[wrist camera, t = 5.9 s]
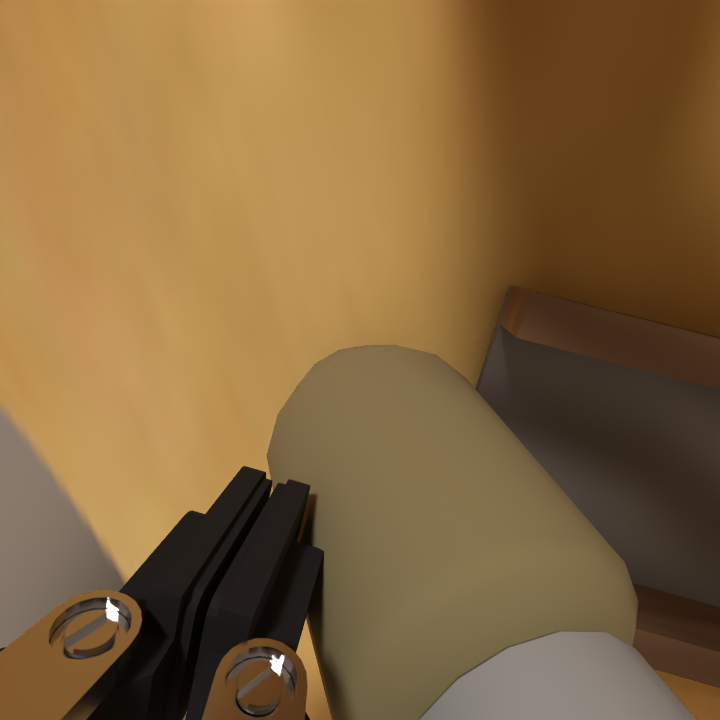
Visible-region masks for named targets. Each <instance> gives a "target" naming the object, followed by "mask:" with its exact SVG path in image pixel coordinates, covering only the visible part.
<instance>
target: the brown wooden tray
mask: <svg viewBox="0 0 720 720" xmlns="http://www.w3.org/2000/svg"><path fill="white" fill-rule="evenodd" d="M476 390H477V392H478V393H479V394H480V395H481V396H482V397H483V399H484V400H485V401H486V402H487V403H488V404H489V406H490V407H491V408H492V409H493V410H494V411H495V412H496V414H497V415H498V416H499V417H500V418H501V419H502V421H503V422H504V423H505V424H506V425H507V426H508V428H509V429H510V430H511V431H512V432H513V433H514V435H515V436H516V437H517V438H518V439H519V440H520V441H521V443H522V444H523V445H524V446H525V447H526V448H527V450H528V451H529V452H530V453H531V454H532V455H533V457H534V458H535V459H536V460H537V461H538V462H539V464H540V465H541V466H542V467H543V468H544V469H545V470H546V472H547V473H548V474H549V475H550V476H551V477H552V479H553V480H554V481H555V482H556V483H557V484H558V486H559V487H560V488H561V489H562V490H563V491H564V493H565V494H566V495H567V496H568V497H569V498H570V499H571V501H572V502H573V503H574V504H575V505H576V506H577V508H578V509H579V510H580V511H581V512H582V513H583V515H584V516H585V517H586V518H587V519H588V520H589V522H590V523H591V524H592V525H593V526H594V527H595V528H596V530H597V531H598V532H599V533H600V534H601V535H602V537H603V538H604V539H605V540H606V541H607V542H608V544H609V545H610V546H611V547H612V548H613V549H614V551H615V552H616V553H617V554H618V555H619V556H620V557H621V559H622V560H623V561H624V562H625V564H626V567H627V570H628V573H629V576H630V578H631V581H632V584H633V587H634V590H635V593H636V596H637V599H638V609H637V618H636V628H635V635H634V640H633V645H632V647H633V648H635V649H636V650H637V651H638V652H639V653H640V654H641V656H642V657H643V658H644V659H645V660H646V661H647V663H648V664H649V665H650V666H651V667H652V668H653V669H656V670H660V671H663V672H667V673H670V674H674V675H677V676H681V677H684V678H688V679H691V680H694V681H698V682H701V683H705V684H708V685H712V686H715V687H719V688H720V338H718V337H714V336H710V335H706V334H702V333H698V332H694V331H690V330H686V329H682V328H678V327H674V326H670V325H666V324H662V323H658V322H654V321H650V320H646V319H642V318H638V317H634V316H630V315H626V314H622V313H618V312H615V311H611V310H607V309H603V308H599V307H595V306H591V305H587V304H583V303H579V302H575V301H571V300H567V299H563V298H559V297H555V296H551V295H547V294H543V293H539V292H535V291H531V290H527V289H523V288H519V287H515V286H511V285H510V286H509V289H508V292H507V295H506V298H505V301H504V304H503V307H502V310H501V313H500V316H499V319H498V323H497V326H496V329H495V332H494V335H493V338H492V341H491V344H490V347H489V350H488V353H487V356H486V359H485V362H484V365H483V368H482V371H481V374H480V378H479V381H478V384H477V387H476Z"/></svg>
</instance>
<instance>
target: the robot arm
mask: <svg viewBox="0 0 720 720" xmlns="http://www.w3.org/2000/svg"><path fill="white" fill-rule="evenodd" d="M271 487H272V480H269V479H266V472H264V471H260V470H257V469H253V468H250V467H246V466H243V467H242V468H241V469H240V471H239V472H238V473H237V474H236V476H235V477H234V478H233V480H232V481H231V482H230V483H229V485H228V486H227V487H226V488H225V490H224V491H223V492H222V494H221V495H220V496H219V497H218V499H217V500H216V501H215V503H214V504H213V505H212V506H211V508H210V509H209V510H208V511H207V513H206V514H202V513H199V512H195V511H189V512H188V513H187V514H186V515H184V517H183V518H182V519H181V520H180V521H179V522H178V524H177V525H176V526H175V527H174V528H173V529H172V531H171V532H170V533H169V534H168V535H167V536H166V538H165V539H164V540H163V541H162V542H161V543H160V545H159V546H158V547H157V548H156V549H155V550H154V551H153V553H152V554H151V555H150V556H149V557H148V558H147V560H146V561H145V562H144V563H143V564H142V565H141V567H140V568H139V569H138V570H137V571H136V572H135V574H134V575H133V576H132V577H131V578H130V579H129V581H128V582H127V583H126V584H125V585H124V586H123V588H122V589H121V590H120V591H119V592H116V591H106V590H98V591H93V592H87V593H83V594H81V595H78V596H76V597H73V598H71V599H69V600H67V601H65V602H64V603H62V604H61V605H59V606H58V607H56V608H55V609H53V610H52V611H51V612H50V613H48V614H47V615H46V616H45V617H43V618H42V619H41V620H40V621H39V622H37V623H36V624H35V625H33V626H32V627H31V628H30V629H28V630H27V631H26V632H25V633H23V634H22V635H21V636H20V637H18V638H17V639H16V640H15V641H13V642H12V643H11V644H10V645H9V646H7V647H5V648H1V649H0V720H183V718H184V716H185V714H186V712H187V714H186V720H310V719H309V717H308V715H307V713H306V712H305V709H306V697H307V674H306V670H305V668H304V665H303V663H302V660H301V659H300V658H299V656H298V655H297V654H296V650H297V647H298V643H299V640H300V636H301V633H302V630H303V626H304V623H305V619H306V616H307V612H308V608H309V604H310V601H311V597H312V593H313V590H314V586H315V582H316V579H317V575H318V571H319V568H320V564H321V560H322V557H323V553H324V551H323V550H321V549H320V548H317V547H314V546H310V545H307V544H303V543H300V542H297V540H298V536H299V532H300V528H301V524H302V520H303V516H304V512H305V508H306V504H307V500H308V495H309V491H310V485H308V484H305V483H302V482H298V481H295V480H291V479H288V481H287V483H286V484H283V483H278V484H277V485H276V487H275V489H274V491H273V492H272V494H271V496H270V492H271ZM269 496H270V497H269Z"/></svg>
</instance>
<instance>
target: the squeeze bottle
mask: <svg viewBox="0 0 720 720" xmlns="http://www.w3.org/2000/svg"><path fill="white" fill-rule="evenodd" d="M267 460H268V465H269V470H270V475H271V480H272V486H273V491H274V489H275V487H276V485H277V484H278V483H283V484H286V483H287V481H288V479H291V480H295V481H298V482H302V483H305V484H308V485H310V491H309V495H308V500H307V504H306V508H305V512H304V516H303V520H302V524H301V528H300V532H299V536H298V540H297V542H300V543H303V544H307V545H310V546H314V547H317V548H320V549H321V550H323V551H324V553H323V557H322V560H321V564H320V568H319V571H318V575H317V579H316V582H315V586H314V590H313V593H312V597H311V601H310V604H309V608H308V612H307V616H306V620H307V624H308V628H309V632H310V635H311V639H312V643H313V647H314V651H315V655H316V659H317V663H318V667H319V670H320V674H321V678H322V682H323V686H324V690H325V694H326V698H327V702H328V705H329V709H330V713H331V717H332V720H697V719H696V718H695V717H694V716H693V715H692V714H691V712H690V711H689V710H688V709H687V708H686V707H685V705H684V704H683V703H682V702H681V701H680V700H679V698H678V697H677V696H676V695H675V694H674V693H673V692H672V690H671V689H670V688H669V687H668V686H667V685H666V683H665V682H664V681H663V680H662V679H661V678H660V676H659V675H658V674H657V673H656V672H655V671H654V669H653V668H652V667H651V666H650V665H649V664H648V663H647V661H646V660H645V659H644V658H643V657H642V656H641V654H640V653H639V652H638V651H637V650H636V649H635V648H633V647H632V645H633V640H634V635H635V628H636V618H637V609H638V599H637V596H636V593H635V590H634V587H633V584H632V581H631V578H630V576H629V573H628V570H627V567H626V564H625V562H624V561H623V560H622V559H621V557H620V556H619V555H618V554H617V553H616V552H615V551H614V549H613V548H612V547H611V546H610V545H609V544H608V542H607V541H606V540H605V539H604V538H603V537H602V535H601V534H600V533H599V532H598V531H597V530H596V528H595V527H594V526H593V525H592V524H591V523H590V522H589V520H588V519H587V518H586V517H585V516H584V515H583V513H582V512H581V511H580V510H579V509H578V508H577V506H576V505H575V504H574V503H573V502H572V501H571V499H570V498H569V497H568V496H567V495H566V494H565V493H564V491H563V490H562V489H561V488H560V487H559V486H558V484H557V483H556V482H555V481H554V480H553V479H552V477H551V476H550V475H549V474H548V473H547V472H546V470H545V469H544V468H543V467H542V466H541V465H540V464H539V462H538V461H537V460H536V459H535V458H534V457H533V455H532V454H531V453H530V452H529V451H528V450H527V448H526V447H525V446H524V445H523V444H522V443H521V441H520V440H519V439H518V438H517V437H516V436H515V435H514V433H513V432H512V431H511V430H510V429H509V428H508V426H507V425H506V424H505V423H504V422H503V421H502V419H501V418H500V417H499V416H498V415H497V414H496V412H495V411H494V410H493V409H492V408H491V407H490V406H489V404H488V403H487V402H486V401H485V400H484V399H483V397H482V396H481V395H480V394H479V393H478V392H477V390H476V389H475V388H474V387H473V386H472V385H471V384H470V382H469V381H468V380H467V379H466V378H465V377H464V376H462V375H461V374H460V373H459V372H457V371H456V370H455V369H453V368H452V367H451V366H450V365H448V364H447V363H446V362H445V361H443V360H442V359H441V358H440V357H438V356H437V355H435V354H430V353H426V352H422V351H418V350H414V349H409V348H405V347H401V346H397V345H366V346H360V347H354V348H348V349H342V350H338V351H336V352H335V353H333V354H331V355H330V356H328V357H326V358H325V359H323V360H321V361H319V362H318V363H316V364H314V366H313V367H312V368H311V370H310V371H309V372H308V373H307V375H306V376H305V377H304V378H303V380H302V381H301V382H300V383H299V385H298V386H297V387H296V389H295V390H294V392H293V393H292V395H291V396H290V398H289V399H288V400H287V402H286V403H285V405H284V406H283V408H282V409H281V410H280V412H279V413H278V415H277V419H276V423H275V427H274V430H273V434H272V438H271V441H270V445H269V449H268V453H267Z"/></svg>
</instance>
